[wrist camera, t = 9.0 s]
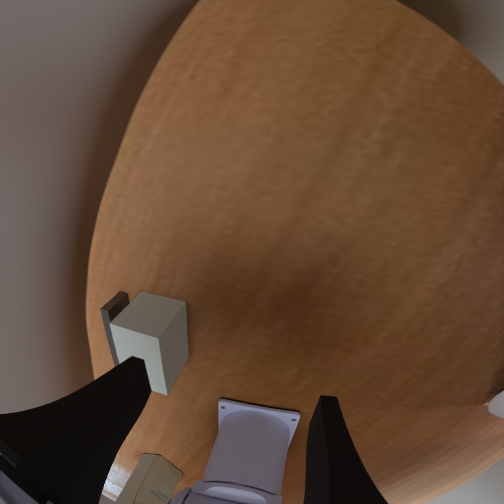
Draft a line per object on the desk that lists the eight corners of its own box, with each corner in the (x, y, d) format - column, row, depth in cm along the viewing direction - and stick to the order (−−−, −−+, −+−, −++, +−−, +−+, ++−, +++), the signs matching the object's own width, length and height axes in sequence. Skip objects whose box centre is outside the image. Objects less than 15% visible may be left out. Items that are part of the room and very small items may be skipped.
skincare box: (183, 472, 36) (159, 527, 25) (165, 470, 37) (141, 522, 26) (158, 453, 34) (129, 511, 23) (141, 452, 36) (112, 505, 25)
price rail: (141, 361, 26) (127, 380, 23) (131, 358, 26) (116, 376, 23) (129, 293, 23) (109, 311, 20) (118, 291, 23) (98, 308, 20)
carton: (186, 300, 22) (158, 338, 17) (189, 356, 24) (167, 395, 20) (141, 290, 23) (107, 322, 18) (148, 345, 25) (123, 379, 20)
